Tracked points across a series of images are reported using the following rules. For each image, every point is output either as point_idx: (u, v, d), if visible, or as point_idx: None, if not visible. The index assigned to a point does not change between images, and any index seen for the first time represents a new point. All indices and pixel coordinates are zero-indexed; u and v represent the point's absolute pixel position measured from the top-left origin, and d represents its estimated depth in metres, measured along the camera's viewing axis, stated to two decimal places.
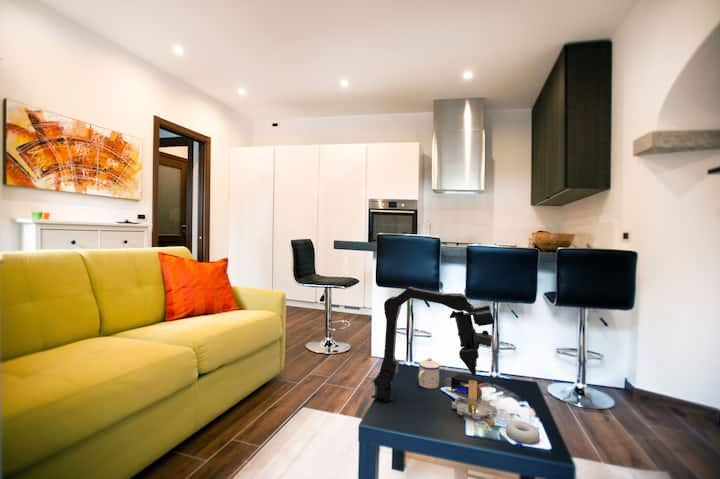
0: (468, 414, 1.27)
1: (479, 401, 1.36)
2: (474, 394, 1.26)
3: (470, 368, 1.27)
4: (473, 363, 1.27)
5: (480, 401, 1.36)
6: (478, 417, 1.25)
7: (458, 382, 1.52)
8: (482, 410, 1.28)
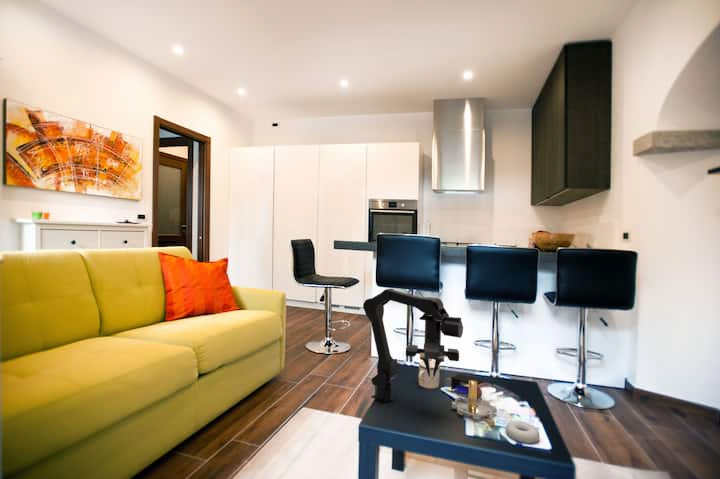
0: (468, 414, 1.27)
1: (479, 401, 1.36)
2: (474, 394, 1.26)
3: None
4: None
5: (480, 401, 1.36)
6: (478, 417, 1.25)
7: (458, 382, 1.52)
8: (482, 410, 1.28)
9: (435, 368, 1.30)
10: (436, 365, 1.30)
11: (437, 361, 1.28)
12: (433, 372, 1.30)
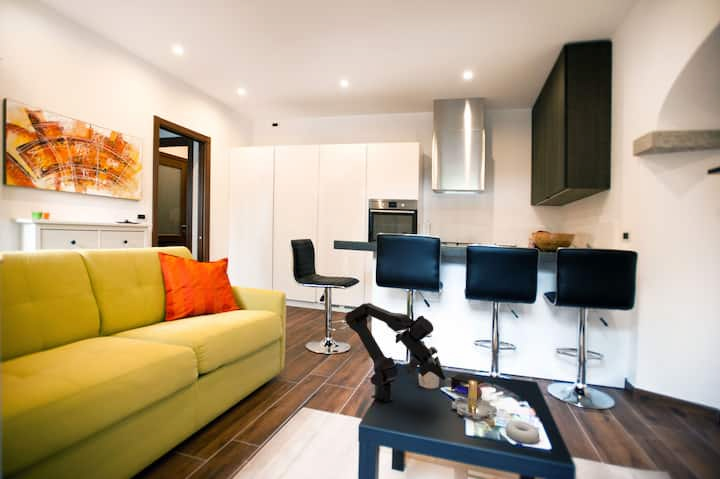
0: (468, 414, 1.27)
1: (479, 401, 1.36)
2: (474, 394, 1.26)
3: None
4: None
5: (480, 401, 1.36)
6: (478, 417, 1.25)
7: (458, 382, 1.52)
8: (482, 410, 1.28)
9: None
10: None
11: None
12: None
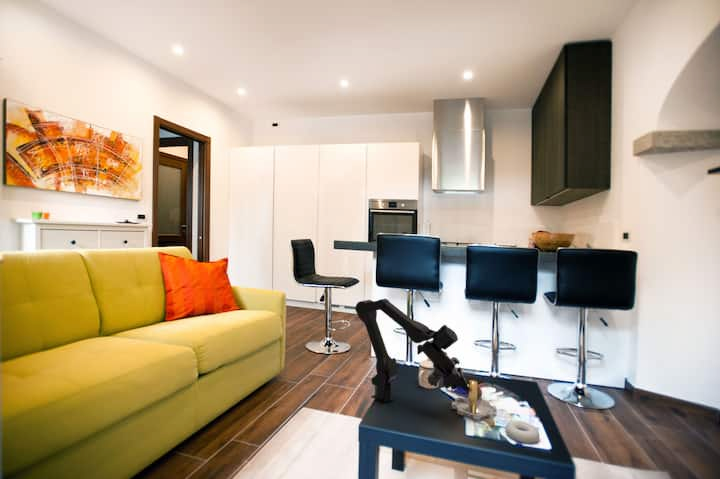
0: (468, 414, 1.27)
1: (479, 401, 1.36)
2: (474, 394, 1.26)
3: None
4: None
5: (480, 401, 1.36)
6: (478, 417, 1.25)
7: None
8: (482, 410, 1.28)
9: None
10: None
11: None
12: None
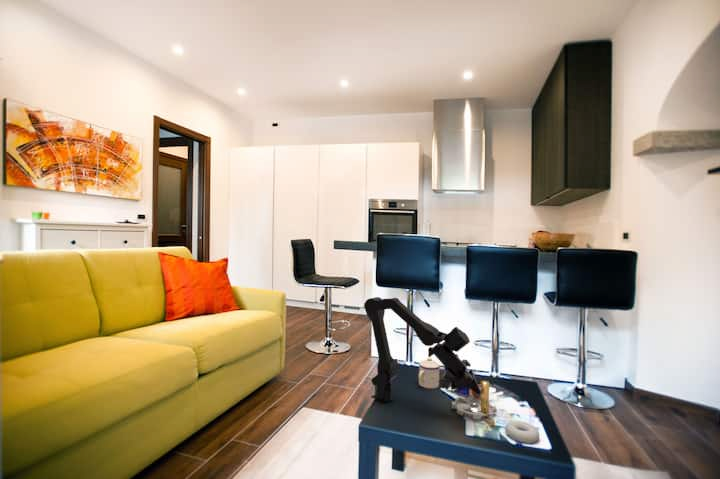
0: (483, 416, 1.26)
1: (469, 399, 1.37)
2: (488, 394, 1.26)
3: None
4: None
5: (469, 399, 1.37)
6: (493, 415, 1.26)
7: None
8: None
9: None
10: None
11: None
12: None
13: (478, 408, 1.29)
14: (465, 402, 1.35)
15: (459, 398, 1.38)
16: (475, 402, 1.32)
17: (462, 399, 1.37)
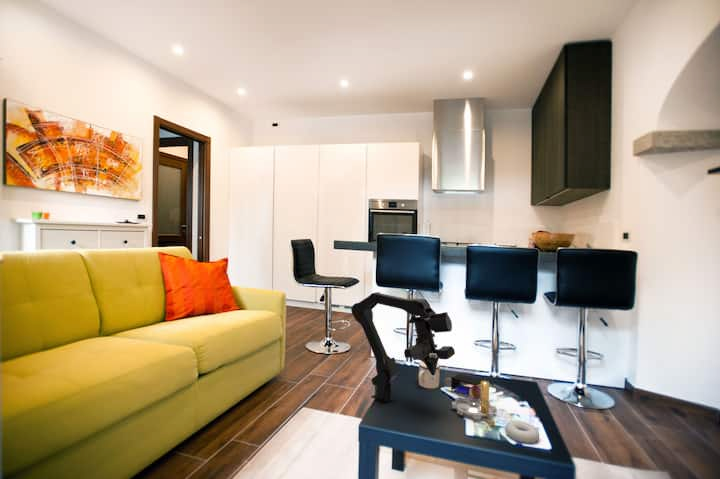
0: (483, 416, 1.26)
1: (469, 399, 1.37)
2: (488, 394, 1.26)
3: None
4: None
5: (469, 399, 1.37)
6: (493, 415, 1.26)
7: (458, 382, 1.52)
8: None
9: (431, 366, 1.32)
10: (431, 364, 1.32)
11: (429, 360, 1.31)
12: (431, 371, 1.33)
13: (478, 408, 1.29)
14: (465, 402, 1.35)
15: (459, 398, 1.38)
16: (475, 402, 1.32)
17: (462, 399, 1.37)
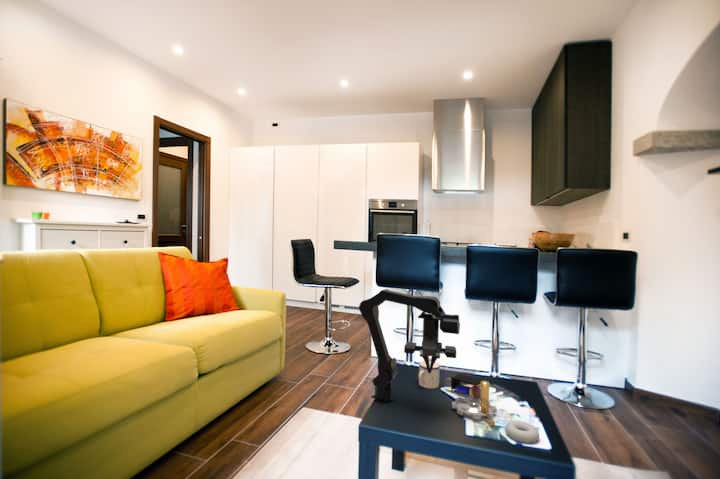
0: (483, 416, 1.26)
1: (469, 399, 1.37)
2: (488, 394, 1.26)
3: None
4: None
5: (469, 399, 1.37)
6: (493, 415, 1.26)
7: (458, 382, 1.52)
8: None
9: (431, 364, 1.34)
10: (432, 362, 1.33)
11: (433, 358, 1.32)
12: (429, 368, 1.34)
13: (478, 408, 1.29)
14: (465, 402, 1.35)
15: (459, 398, 1.38)
16: (475, 402, 1.32)
17: (462, 399, 1.37)
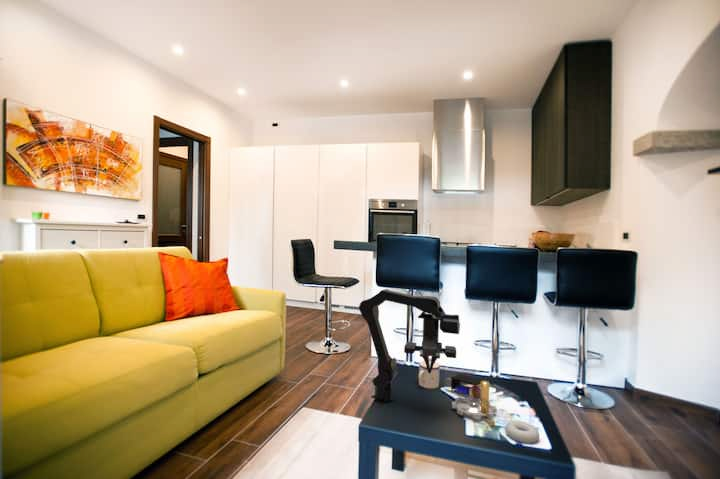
0: (483, 416, 1.26)
1: (469, 399, 1.37)
2: (488, 394, 1.26)
3: None
4: None
5: (469, 399, 1.37)
6: (493, 415, 1.26)
7: (458, 382, 1.52)
8: None
9: (431, 364, 1.34)
10: (432, 362, 1.33)
11: (433, 358, 1.32)
12: (429, 368, 1.34)
13: (478, 408, 1.29)
14: (465, 402, 1.35)
15: (459, 398, 1.38)
16: (475, 402, 1.32)
17: (462, 399, 1.37)
